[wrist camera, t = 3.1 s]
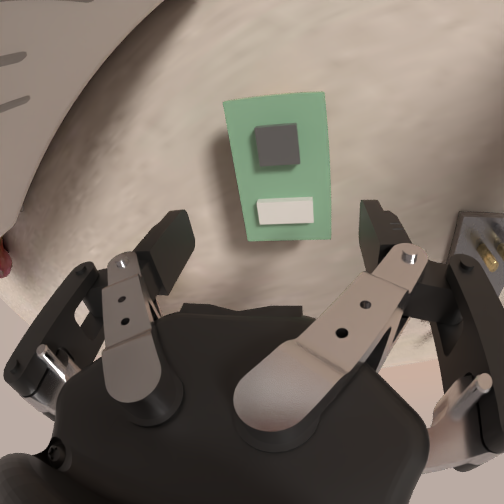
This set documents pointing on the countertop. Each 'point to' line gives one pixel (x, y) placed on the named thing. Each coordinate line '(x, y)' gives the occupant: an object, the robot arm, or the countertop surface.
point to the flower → (4, 261)
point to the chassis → (482, 243)
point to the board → (282, 165)
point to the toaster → (49, 76)
